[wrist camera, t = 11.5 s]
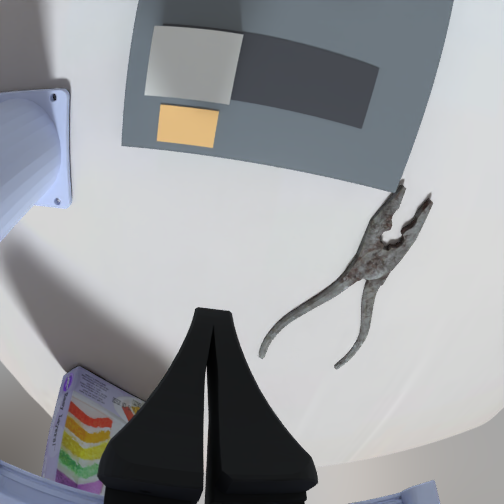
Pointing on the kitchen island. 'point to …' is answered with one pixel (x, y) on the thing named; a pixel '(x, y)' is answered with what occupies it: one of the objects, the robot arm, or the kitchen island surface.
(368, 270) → the pliers
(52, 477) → the cake pan box
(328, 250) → the kitchen island surface
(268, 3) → the panel
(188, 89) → the tab
